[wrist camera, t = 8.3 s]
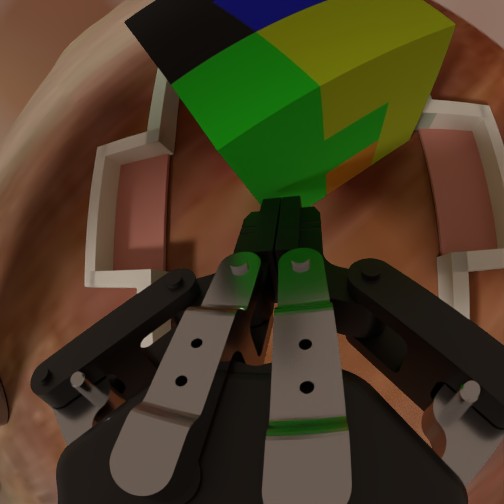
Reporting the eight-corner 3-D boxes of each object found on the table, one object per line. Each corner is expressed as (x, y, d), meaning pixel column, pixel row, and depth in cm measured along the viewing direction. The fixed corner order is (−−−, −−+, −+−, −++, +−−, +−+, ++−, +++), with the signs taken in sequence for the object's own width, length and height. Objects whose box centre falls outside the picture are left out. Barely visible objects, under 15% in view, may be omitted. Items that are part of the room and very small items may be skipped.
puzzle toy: (313, 48, 18) (293, -61, 8) (409, 140, 16) (456, 24, 6) (200, 116, 19) (123, 21, 10) (278, 227, 17) (217, 150, 7)
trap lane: (504, 377, 12) (521, 385, 10) (111, 382, 19) (91, 388, 16) (440, 41, 16) (445, 23, 13) (130, 79, 22) (117, 66, 20)
